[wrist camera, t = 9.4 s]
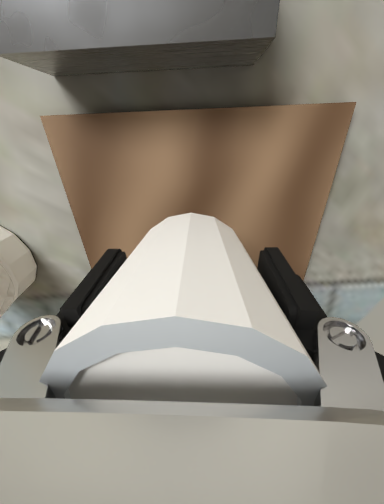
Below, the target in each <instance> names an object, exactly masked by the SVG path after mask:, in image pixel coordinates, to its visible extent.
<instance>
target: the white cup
mask: <svg viewBox="0 0 384 504" xmlns="http://www.w3.org/2000/svg"><path fill="white" fill-rule="evenodd" d="M36 270H37V265H36V263H35V260H34V258H33V256H32V254H31V252H30V250H29V249H28V248H27V246H26V245H25V244H24V243H23V242H22V241H21V240H20V239H19V238H18V237H17V236H16V235H15V234H14V233H12V232H10V231H8V230H7V229H5V228H3V227H1V226H0V318H1V316H2V315H3V314H4V313H5V312H6V311H8V309H9V307H10V306H11V304H12V303H13V302H14V301H15V300H16V299H17V298H18V297H19V296H20V295H21V294H22V293H23V292H24V291H25V290H26V289H27V288H28V287H29V286H30V285H31V284H32V283H33V282H34V281H35V278H36Z"/></svg>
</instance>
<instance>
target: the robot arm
mask: <svg viewBox="0 0 384 504" xmlns="http://www.w3.org/2000/svg"><path fill="white" fill-rule="evenodd" d="M126 259H127V257H126V253H125V252H122V250H121V249H107V250H106V252H105V253H104V254H103V255H102V257H101V258H100V259H99V261H98V262H97V263H96V264H95V266H94V267H93V268H92V269H91V271H90V272H89V273H88V274H87V276H86V277H85V278H84V279H83V281H82V282H81V283H80V284H79V286H78V287H77V288H76V289H75V291H74V292H73V293H72V294H71V296H70V297H69V298H68V299H67V301H66V302H65V303H64V304H63V306H62V307H61V308H60V310H61V311H60V312H59V313H58V314H57V316H55V315H44V316H40V317H37V318H34V319H32V320H30V321H29V322H27V323H25V324H24V325H23V326H21V327H20V328H19V329H18V330H17V331H16V332H15V333H14V335H13V336H12V338H11V340H10V343H9V345H8V347H7V348H6V349H4V350H2V351H0V504H384V356H383V355H380V354H379V353H377V352H375V351H374V348H373V344H372V342H371V340H370V338H369V336H368V335H367V334H366V333H365V332H364V331H363V330H362V329H361V328H359V327H358V326H357V325H355V324H353V323H351V322H349V321H347V320H344V319H341V318H336V317H327V316H326V314H325V313H324V311H323V310H322V308H321V307H320V305H319V304H318V302H317V301H316V299H315V298H314V296H313V295H312V293H311V292H310V290H309V289H308V287H307V286H306V284H305V283H304V282H303V280H302V279H301V277H300V276H299V275H297V274H295V272H294V271H293V269H292V268H291V266H290V265H289V263H288V262H287V260H286V259H285V257H284V256H283V254H282V253H281V251H280V250H279V248H278V247H265V248H264V250H261V251H260V253H259V260H258V266H257V269H258V271H259V273H260V274H261V276H262V278H263V279H264V281H265V283H266V284H267V286H268V288H269V289H270V291H271V293H272V294H273V296H274V298H275V299H276V301H277V303H278V304H279V306H280V308H281V309H282V311H283V313H284V314H285V316H286V318H287V319H288V321H289V323H290V324H291V326H292V328H293V329H294V331H295V333H296V334H297V336H298V338H299V339H300V341H301V343H302V344H303V346H304V348H305V349H306V351H307V353H308V354H309V356H310V358H311V359H312V361H313V363H314V364H315V366H316V368H317V369H318V371H319V373H320V375H321V376H322V378H323V380H324V381H325V383H326V385H327V386H328V387H322V388H320V390H319V392H318V395H317V397H316V399H315V401H314V406H295V405H266V404H237V403H206V402H173V401H138V400H99V399H57V398H56V397H55V395H54V393H53V392H52V390H51V388H50V387H49V385H48V384H46V383H42V382H39V380H40V378H41V376H42V374H43V372H44V370H45V368H46V366H47V364H48V362H49V360H50V358H51V356H52V354H53V352H54V350H55V349H56V348H57V347H58V345H59V344H60V343H61V342H62V340H63V339H64V338H65V337H66V335H67V334H68V333H69V331H70V330H71V329H72V328H73V326H74V325H75V324H76V323H77V321H78V320H79V319H80V318H81V316H82V315H83V314H84V313H85V311H86V310H87V309H88V307H89V306H90V305H91V304H92V302H93V301H94V300H95V299H96V297H97V296H98V295H99V294H100V292H101V291H102V290H103V289H104V287H105V286H106V285H107V283H108V282H109V281H110V280H111V278H112V277H113V276H114V275H115V273H116V272H117V271H118V270H119V268H120V267H121V266H122V265H123V263H124V262H125V261H126Z"/></svg>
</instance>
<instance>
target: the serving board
mask: <svg viewBox="0 0 384 504" xmlns="http://www.w3.org/2000/svg"><path fill="white" fill-rule="evenodd" d="M355 105H356V102H346V103H323V104H301V105H278V106H255V107H233V108H210V109H187V110H165V111H142V112H119V113H97V114H74V115H51V116H40V117H41V120H42V123H43V126H44V129H45V132H46V135H47V138H48V141H49V144H50V147H51V150H52V153H53V156H54V159H55V162H56V165H57V168H58V171H59V174H60V177H61V180H62V183H63V186H64V189H65V192H66V195H67V197H68V200H69V203H70V206H71V209H72V212H73V215H74V218H75V221H76V224H77V227H78V230H79V233H80V236H81V239H82V242H83V245H84V248H85V251H86V254H87V257H88V260H89V263H90V266H91V269H92V268H93V267H94V266H95V264H96V263H97V262H98V261H99V259H100V258H101V257H102V255H103V254H104V253H105V252H106V250H107V249H121V250H122V252H125V253H126V257H127V258H128V257H129V256H130V254H131V253H132V252H133V251H134V249H135V248H136V247H137V246H138V244H139V243H140V242H141V241H142V239H143V238H144V237H145V235H146V234H147V233H148V232H149V230H150V229H151V228H153V227H154V226H156V225H157V224H159V223H160V222H162V221H163V220H165V219H166V218H168V217H171V216H176V215H181V214H186V213H196V214H201V215H207V216H212V217H215V218H216V219H218V220H220V221H221V222H223V223H224V224H226V225H227V226H229V227H230V228H232V229H233V230H234V232H235V234H236V235H237V237H238V238H239V240H240V241H241V243H242V245H243V246H244V248H245V249H246V251H247V253H248V254H249V256H250V258H251V259H252V261H253V263H254V264H255V266H256V268H257V266H258V260H259V253H260V251H261V250H264V248H265V247H278V248H279V250H280V251H281V253H282V254H283V256H284V257H285V259H286V260H287V262H288V263H289V265H290V266H291V268H292V269H293V271H294V272H295V274H297V275H299V276H300V277H301V279H302V280H304V276H305V273H306V270H307V266H308V263H309V260H310V256H311V253H312V250H313V246H314V243H315V239H316V236H317V233H318V229H319V226H320V223H321V219H322V216H323V213H324V209H325V206H326V203H327V199H328V196H329V192H330V189H331V186H332V182H333V179H334V176H335V172H336V169H337V166H338V162H339V159H340V155H341V152H342V149H343V145H344V142H345V139H346V135H347V132H348V129H349V125H350V122H351V119H352V115H353V112H354V108H355Z"/></svg>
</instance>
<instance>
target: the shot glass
mask: <svg viewBox="0 0 384 504" xmlns="http://www.w3.org/2000/svg"><path fill="white" fill-rule="evenodd" d="M39 382H42V383H46V384H48V385H49V387H50V388H51V390H52V392H53V393H54V395H55V397H56V398H57V399H99V400H138V401H173V402H206V403H237V404H266V405H295V406H314V401H315V399H316V397H317V395H318V392H319V390H320V388H322V387H328V386H327V385H326V383H325V381H324V380H323V378H322V376H321V375H320V373H319V371H318V369H317V368H316V366H315V364H314V363H313V361H312V359H311V358H310V356H309V354H308V353H307V351H306V349H305V348H304V346H303V344H302V343H301V341H300V339H299V338H298V336H297V334H296V333H295V331H294V329H293V328H292V326H291V324H290V323H289V321H288V319H287V318H286V316H285V314H284V313H283V311H282V309H281V308H280V306H279V304H278V303H277V301H276V299H275V298H274V296H273V294H272V293H271V291H270V289H269V288H268V286H267V284H266V283H265V281H264V279H263V278H262V276H261V274H260V273H259V271H258V269H257V268H256V266H255V264H254V263H253V261H252V259H251V258H250V256H249V254H248V253H247V251H246V249H245V248H244V246H243V245H242V243H241V241H240V240H239V238H238V237H237V235H236V234H235V232H234V230H233V229H232V228H230V227H229V226H227V225H226V224H224V223H223V222H221V221H220V220H218V219H216V218H215V217H212V216H207V215H201V214H196V213H186V214H181V215H176V216H171V217H168V218H166V219H165V220H163V221H162V222H160V223H159V224H157V225H156V226H154V227H153V228H151V229H150V230H149V232H148V233H147V234H146V235H145V237H144V238H143V239H142V241H141V242H140V243H139V244H138V246H137V247H136V248H135V249H134V251H133V252H132V253H131V254H130V256H129V257H128V258H127V259H126V261H125V262H124V263H123V265H122V266H121V267H120V268H119V270H118V271H117V272H116V273H115V275H114V276H113V277H112V278H111V280H110V281H109V282H108V283H107V285H106V286H105V287H104V289H103V290H102V291H101V292H100V294H99V295H98V296H97V297H96V299H95V300H94V301H93V302H92V304H91V305H90V306H89V307H88V309H87V310H86V311H85V313H84V314H83V315H82V316H81V318H80V319H79V320H78V321H77V323H76V324H75V325H74V326H73V328H72V329H71V330H70V331H69V333H68V334H67V335H66V337H65V338H64V339H63V340H62V342H61V343H60V344H59V345H58V347H57V348H56V349H55V350H54V352H53V354H52V356H51V358H50V360H49V362H48V364H47V366H46V368H45V370H44V372H43V374H42V376H41V378H40V380H39Z"/></svg>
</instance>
